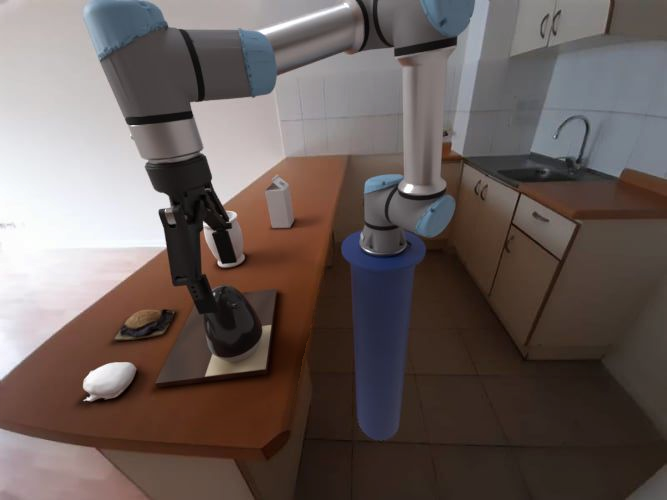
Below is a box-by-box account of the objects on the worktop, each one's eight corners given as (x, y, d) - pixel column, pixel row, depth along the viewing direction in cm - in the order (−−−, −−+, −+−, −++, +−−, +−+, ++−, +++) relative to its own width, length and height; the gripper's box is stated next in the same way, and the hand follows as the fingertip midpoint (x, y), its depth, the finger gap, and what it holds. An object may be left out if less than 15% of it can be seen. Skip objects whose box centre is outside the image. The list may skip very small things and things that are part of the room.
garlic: (78, 404, 49) (66, 391, 47) (103, 370, 55) (94, 358, 53) (124, 400, 49) (114, 387, 47) (144, 367, 55) (136, 354, 53)
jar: (217, 255, 92) (203, 213, 84) (249, 250, 93) (238, 208, 86) (212, 272, 83) (195, 227, 75) (247, 267, 84) (235, 222, 77)
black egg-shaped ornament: (232, 381, 49) (206, 318, 41) (204, 352, 55) (176, 292, 47) (277, 344, 56) (262, 284, 48) (247, 322, 62) (229, 265, 54)
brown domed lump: (113, 343, 61) (105, 332, 59) (133, 316, 68) (126, 305, 66) (162, 337, 62) (156, 325, 60) (177, 311, 69) (171, 299, 67)
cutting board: (277, 293, 72) (276, 288, 72) (267, 374, 52) (265, 368, 51) (199, 301, 71) (197, 296, 71) (157, 388, 51) (154, 382, 50)
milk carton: (272, 228, 107) (262, 179, 97) (277, 220, 113) (268, 174, 103) (289, 228, 106) (282, 179, 96) (294, 220, 112) (287, 173, 102)
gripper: (181, 143, 47) (217, 249, 58) (80, 189, 26) (168, 344, 37) (225, 138, 47) (253, 245, 58) (162, 181, 26) (225, 337, 37)
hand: (220, 284), depth 47 cm, fingers open, 13 cm apart
